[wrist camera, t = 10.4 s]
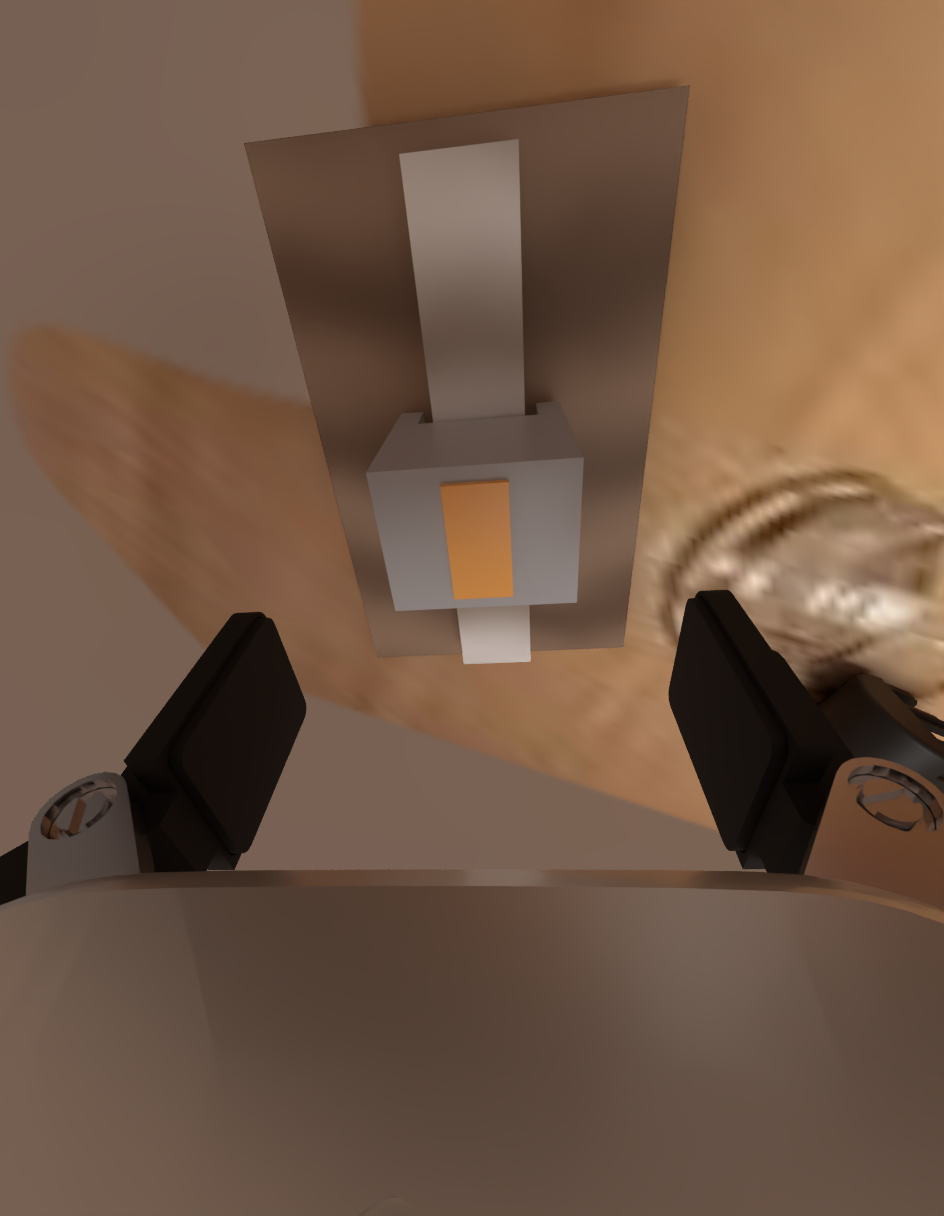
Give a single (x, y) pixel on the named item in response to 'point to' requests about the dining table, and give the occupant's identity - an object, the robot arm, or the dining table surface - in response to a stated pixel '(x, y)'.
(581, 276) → the rail
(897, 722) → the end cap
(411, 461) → the grey module
